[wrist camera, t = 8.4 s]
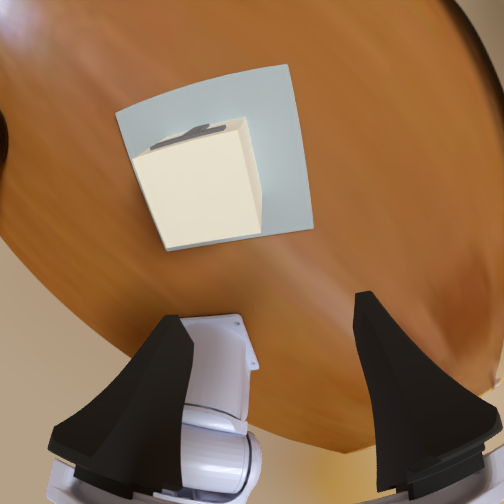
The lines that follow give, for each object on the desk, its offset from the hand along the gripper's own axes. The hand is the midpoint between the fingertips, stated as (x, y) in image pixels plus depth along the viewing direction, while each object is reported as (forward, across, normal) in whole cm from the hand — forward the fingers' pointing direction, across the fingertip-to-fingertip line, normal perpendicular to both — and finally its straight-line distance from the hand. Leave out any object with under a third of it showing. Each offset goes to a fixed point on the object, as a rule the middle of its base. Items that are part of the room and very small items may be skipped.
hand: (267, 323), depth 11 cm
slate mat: (+9, +2, -4) cm, 11 cm away
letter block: (+9, +2, -4) cm, 10 cm away
